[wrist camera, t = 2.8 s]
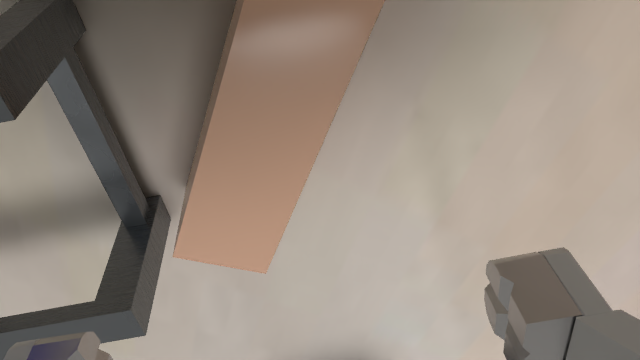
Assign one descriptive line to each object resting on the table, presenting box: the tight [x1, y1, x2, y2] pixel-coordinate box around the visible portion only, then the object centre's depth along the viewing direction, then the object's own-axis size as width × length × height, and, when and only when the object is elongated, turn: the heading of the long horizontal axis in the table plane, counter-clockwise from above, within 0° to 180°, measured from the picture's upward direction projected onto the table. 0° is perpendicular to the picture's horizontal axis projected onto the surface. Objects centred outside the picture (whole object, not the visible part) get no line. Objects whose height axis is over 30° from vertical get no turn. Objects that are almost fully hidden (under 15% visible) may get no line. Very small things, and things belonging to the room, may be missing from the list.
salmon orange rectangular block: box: [173, 0, 385, 274], centre depth 19 cm, size 16×4×5 cm, turn 159°
